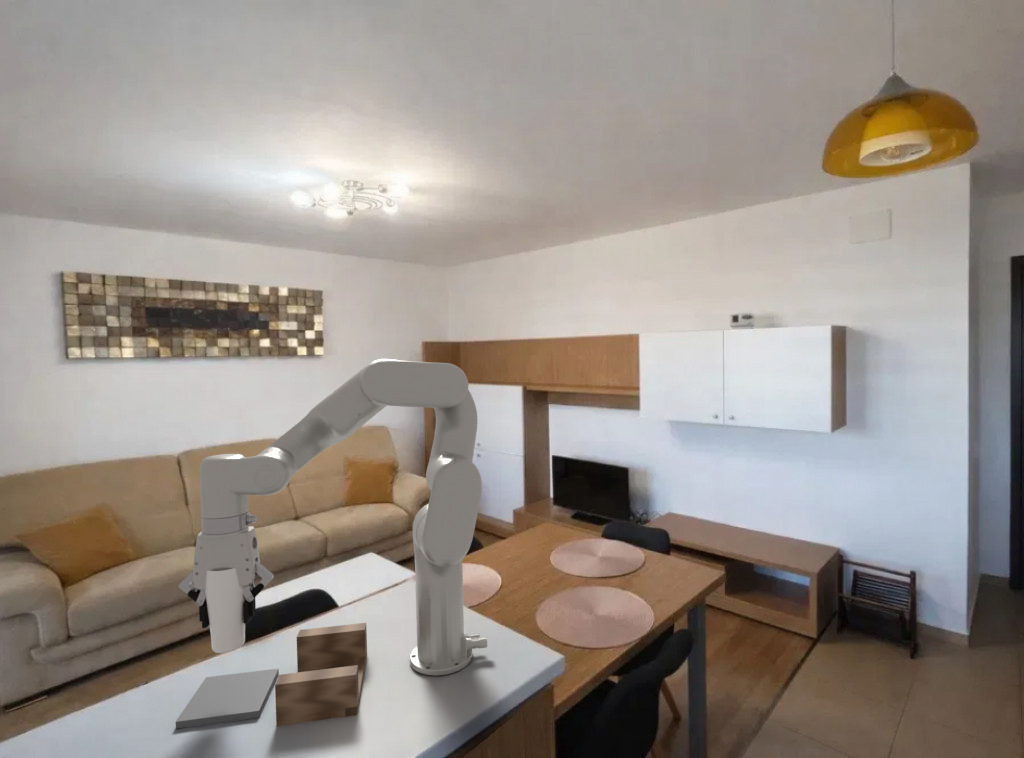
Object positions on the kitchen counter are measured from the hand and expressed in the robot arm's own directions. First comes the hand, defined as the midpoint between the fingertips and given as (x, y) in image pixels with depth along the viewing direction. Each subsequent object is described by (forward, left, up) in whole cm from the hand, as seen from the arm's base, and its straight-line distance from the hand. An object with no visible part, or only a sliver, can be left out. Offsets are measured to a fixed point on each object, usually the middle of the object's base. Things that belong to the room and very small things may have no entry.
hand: (228, 621), depth 94 cm
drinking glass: (0, 0, -5) cm, 5 cm away
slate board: (0, 0, -14) cm, 14 cm away
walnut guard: (-17, 0, -14) cm, 22 cm away
